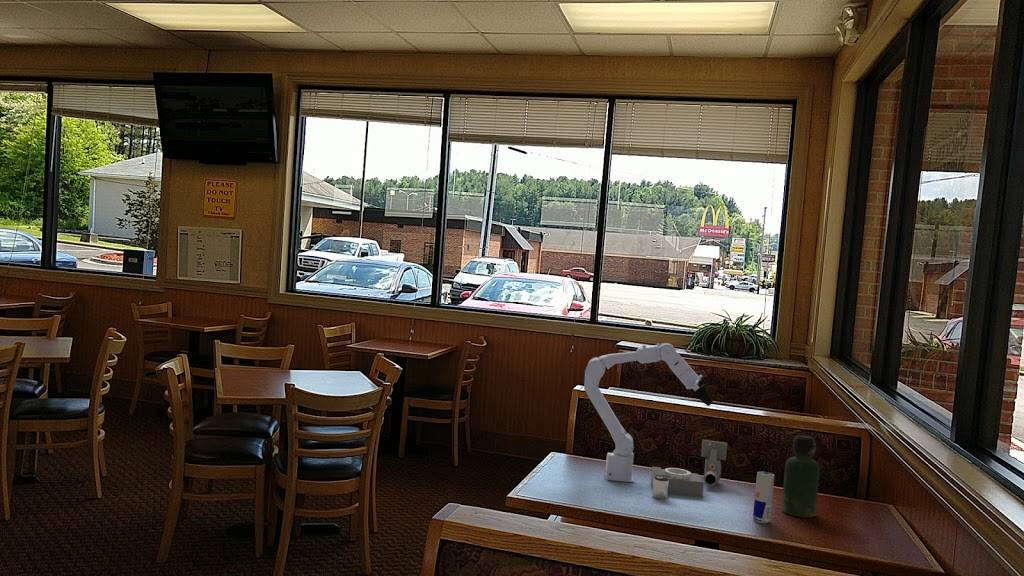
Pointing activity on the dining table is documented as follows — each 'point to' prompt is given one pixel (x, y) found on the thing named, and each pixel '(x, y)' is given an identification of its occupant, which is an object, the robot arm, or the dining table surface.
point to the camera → (713, 460)
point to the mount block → (680, 481)
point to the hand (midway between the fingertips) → (709, 402)
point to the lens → (660, 487)
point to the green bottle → (801, 479)
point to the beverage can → (763, 497)
